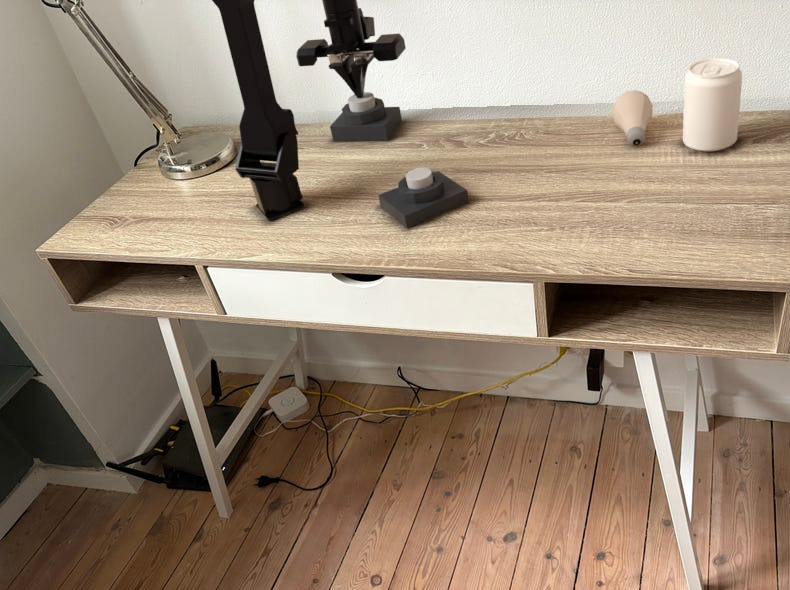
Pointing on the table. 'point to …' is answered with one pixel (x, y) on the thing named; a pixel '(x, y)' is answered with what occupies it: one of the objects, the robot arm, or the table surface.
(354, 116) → the dark grey button mount
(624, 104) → the light bulb
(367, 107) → the large button
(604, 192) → the table surface
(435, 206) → the dark grey button base
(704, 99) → the beverage can
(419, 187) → the small button
